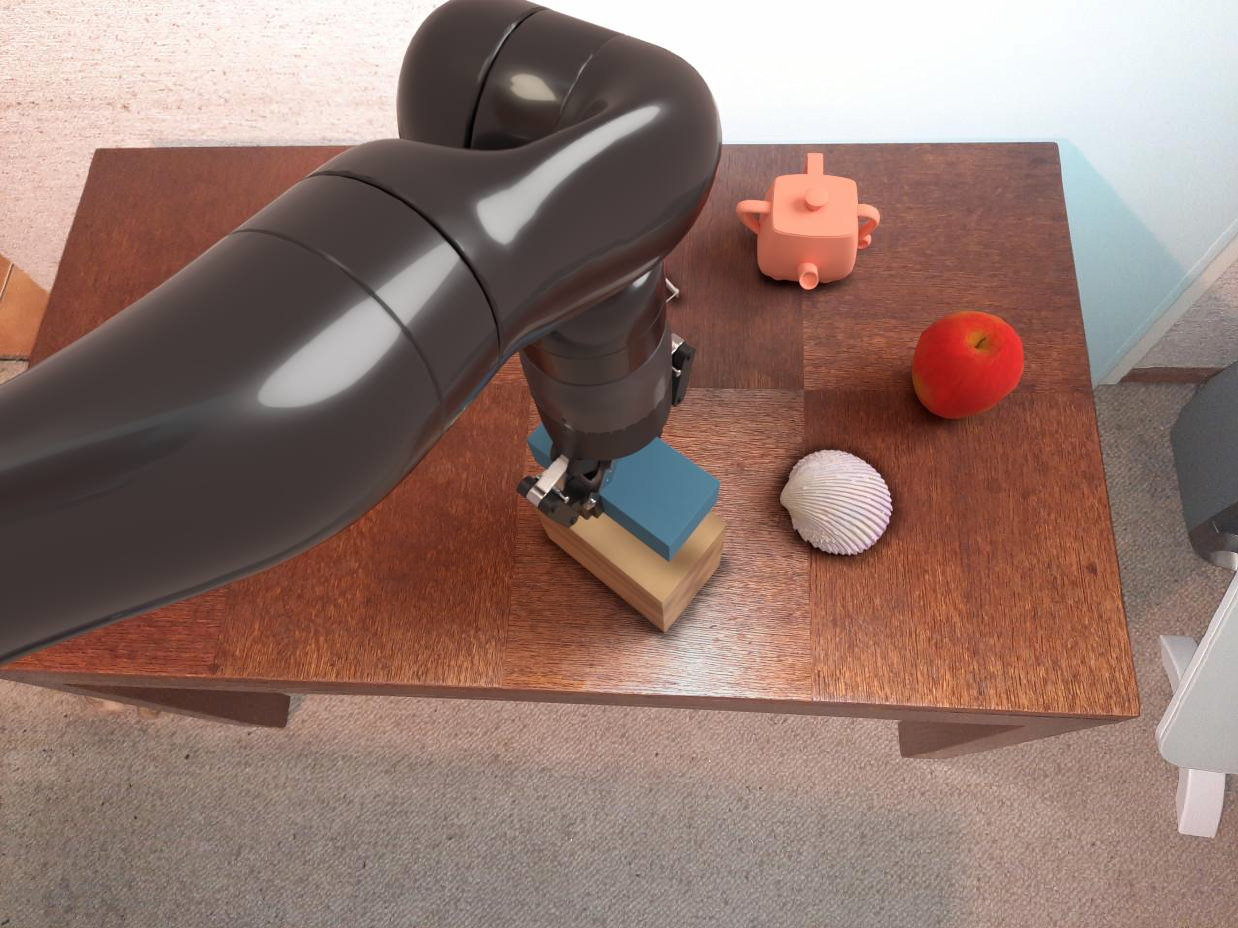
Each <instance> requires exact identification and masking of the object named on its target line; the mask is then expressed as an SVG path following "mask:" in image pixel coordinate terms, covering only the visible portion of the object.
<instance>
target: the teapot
mask: <svg viewBox="0 0 1238 928" xmlns="http://www.w3.org/2000/svg"><path fill="white" fill-rule="evenodd" d="M805 158H806V159H805V162H804V167H803V171H802V173H800V174H799V173H798V174H796V173H795V174H784V175H780V176H778V177H777V176H776V178H775V179H774V180H773V181H772V182H771V185H770V186H769V188H768V190H767V191H766V194H765V197H764V198H763V200H757V199H746V200H742V201H739V202H738V203H737V204H736V206H735V214H736V216H737V218H738V220H739V221H740V222H741V223H742V224H743V225H744V226H745V227H747V228H748V229H749V230H750V231H752V232H753V233H754V234H756V235H757V237H756V238H757V240H756V253H757V264H758V268H759V270H760V271H761V273H762V274H763V275H765V276H767V277H770V278H772V279H773V280H776V281H783V280H786V281H792V282H799V285H800V286H801V288H803V289H804V290H812V289H815V288H816V287H817V285H818V284H819V283H823V284H828V283H830V282H835V281H840V280H842V279H844V278H846V277H848V276H849V275H850V274H851V273H852V272H853V269H854V266H855V263H856V259H857V251H858V250H863V249H866V248H868V247H869V246H870V244H871V243H872V237H871V234H872V232H874V230H876V228H878V226H879V224H880V220H881V216H880V212H879V210H878V209H877V208H876V207H874V206H873V205H870V204H866V203H859V201H858V200H859V199H858V187H857V183H856V181H855V180H853V179H851V178H846V177H842V176H837V175H827V174H824V153H819V152H808V153H807V154H806V157H805ZM753 214H759V220H757V219H756V218H755V216H754V215H753ZM859 217H863V218H868V219H870V220H868V221H867V222H866V223H864V224H863V225H862V226H861V227H860V221H859V219H860V218H859Z"/></svg>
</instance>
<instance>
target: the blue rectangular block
mask: <svg viewBox="0 0 1238 928" xmlns="http://www.w3.org/2000/svg"><path fill="white" fill-rule="evenodd" d="M552 443H553V442H552V440H551V438H550V437H549V435H548V433H547V431H546V430H545V428H544V426H543V424H542V421H541V422H540V423H539V425H538V426H537V427H536V428H535V429H534V430H533V432H531V434H529V436H528V437H527V438H526V444H527V445H528V448H529V450H530V453H531V455H532V457H533V459H534V462H535V463H537V464H539V465H540V466H541V467H542V468H544V469H545V470H547V469H548V468H549V467H550V466H551V464H552V463H553V462H552V461H551V458H550V450H551V447H552ZM720 488H721V481H720V480H719V479H717V478H716V477H714V476H713V475H712V474H710V473H709V472H707V471H706V470H705V469H703V468H702V467H701V466H700V465H698V464H697V463H695V462H693V460H691V459H689V458H688V457H686V456H685V455H684V454H682V453H681V452H679V451H678V450H676V449H675V448H674V447H672V446H671V445H669V444H668V443H667V442H666V441H664V440H663V439H662V438H661V439H660V438H658V437H656V438H655V439H654V440H653V441H652V442H651V443H650V444H648V445H647V446H646V447H644V448H643V449H641V450H640V451H638V452H636V453H634V454H632V455H629V456H627V457H624V458H622V459H621V460H620V461H618V463H617V466H616V469H615V472H614V475H613V478H612V481H611V483H610V484H609V485H607V486H606V487H605V488H604V489H603V490H602V491H601V492H600V496H601V500H602V504H603V508H604V512H603V513H604V514H606V515H607V516H608V517H610V518H611V519H612V520H614V521H615V522H616V523H618V524H619V525H620V526H622V527H623V528H624V529H626V530H627V531H628V532H630V533H631V534H632V535H634V536H635V537H636V538H638V539H639V540H640V541H642V542H643V543H644V544H645V545H647V546H648V547H649V548H651V549H652V550H653V551H655V552H656V553H657V554H659V555H660V556H661V557H663V558H664V559H665V560H667V561H668V562H670V561H671V559H672V558H673V557H674V556H675V554H676V553H677V552H678V551H679V549H680V548H681V547H682V546H683V544H684V543H685V542H686V541H687V539H688V538H689V537H690V535H691V534H692V533H693V532H694V530H695V529H696V528H697V527H698V525H699V524H700V523H701V522H702V520H703V519H704V518H705V516H706V515H707V514H708V513H709V511H712V509H713V508H714V507H715V506H716V505H717V503H718V501H719V494H720Z"/></svg>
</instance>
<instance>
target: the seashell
mask: <svg viewBox="0 0 1238 928" xmlns="http://www.w3.org/2000/svg"><path fill="white" fill-rule="evenodd" d="M788 478H789V479H788V482H786V484H785V486H784V487H783V489H782V491H781V493H780V496H779V500H780V504H781V505H782V507H784V508H785V509H786V510H787V512H788V514H789V515H790V518H791V523H792V528H793V530H794V531H796V530H797V531H798V533H799V535H800V537H801V539H802V540H803V541H804V542H805V543H807V542H809V543H811V545H812V547H814V548H815V549H816V548H819V549H820V550H821V551H822V552H826V553H828V554H831V553H832V554H834V555H836V556H837V555H838V554H840V555H842V556H844V555H847V556H851V555H854V556H857V555H858V553H859V554H863V552H864V550H869V549H870V547H871V546H873V545H875V544H876V543H877V540H879V539H881V537H882V535H883V534H884V532H886V530H887V525H889V524H890V516H892V513H891V512H893V506H892V504H891V503H892V501H893V500H892V499H891V497H890V496H891V493H890V491H889V487H888V485H887V484H886V482H885V480H884V479H883V478H882V475H881V474H880V473H879V472H877V470H876V469H875V468H873V467H872V465H871V464H869V463H866V461H865V460H864V459H861V458H859V457H858V456H855V455H853V454H852V453H851V452H846V451H844V450H843V451H841V450H840V449H837V450H834V449H830V450H829V449H828V450H827V449H824V450H823V449H821V450H820V451H814V452H813V453H809V454H808V455H806V456H803V458H802V459H798V462H797V463H796V464H794V466H793V467H792V470H791V472H790V473H789V476H788Z"/></svg>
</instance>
